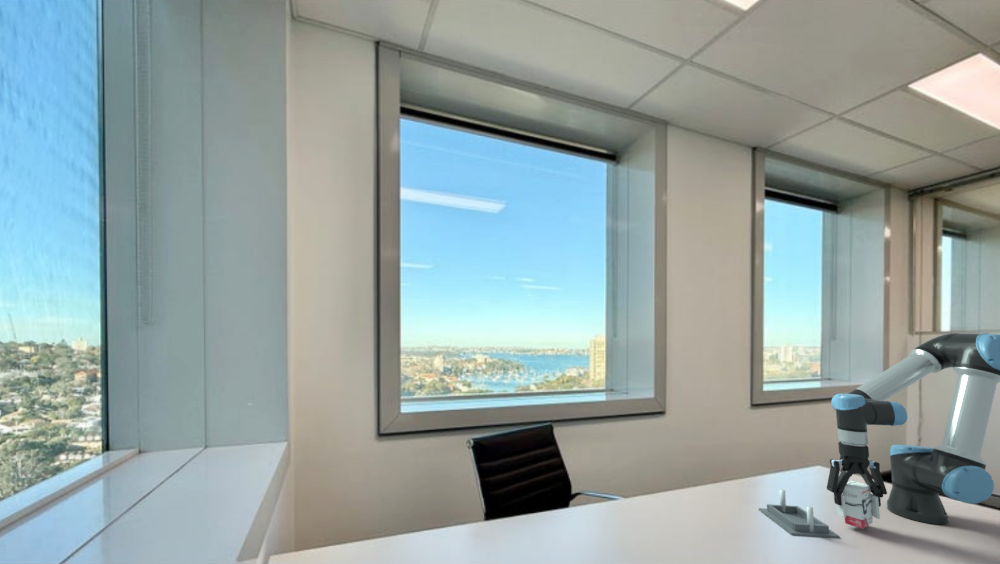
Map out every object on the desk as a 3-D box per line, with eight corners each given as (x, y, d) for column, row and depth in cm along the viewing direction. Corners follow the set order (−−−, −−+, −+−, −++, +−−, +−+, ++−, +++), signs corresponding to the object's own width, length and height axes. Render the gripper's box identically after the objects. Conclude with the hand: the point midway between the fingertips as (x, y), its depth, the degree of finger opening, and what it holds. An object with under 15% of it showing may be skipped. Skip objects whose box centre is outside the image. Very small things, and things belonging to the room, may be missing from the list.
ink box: (863, 529, 131) (860, 489, 132) (844, 523, 135) (841, 484, 136) (873, 523, 135) (870, 484, 137) (854, 517, 140) (851, 479, 141)
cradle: (800, 512, 146) (799, 489, 146) (839, 538, 128) (838, 511, 129) (758, 510, 146) (757, 486, 147) (791, 535, 129) (790, 508, 129)
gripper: (879, 441, 141) (884, 512, 139) (809, 439, 142) (814, 509, 140) (898, 447, 134) (905, 522, 131) (825, 445, 135) (830, 520, 132)
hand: (858, 516), depth 135 cm, fingers closed on ink box, 9 cm apart
